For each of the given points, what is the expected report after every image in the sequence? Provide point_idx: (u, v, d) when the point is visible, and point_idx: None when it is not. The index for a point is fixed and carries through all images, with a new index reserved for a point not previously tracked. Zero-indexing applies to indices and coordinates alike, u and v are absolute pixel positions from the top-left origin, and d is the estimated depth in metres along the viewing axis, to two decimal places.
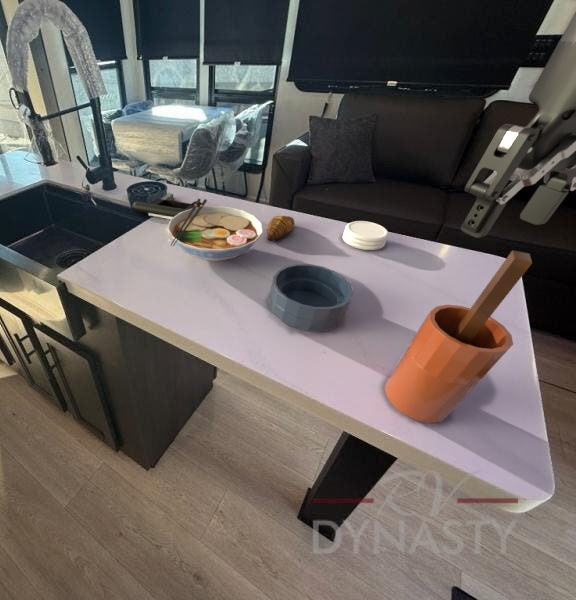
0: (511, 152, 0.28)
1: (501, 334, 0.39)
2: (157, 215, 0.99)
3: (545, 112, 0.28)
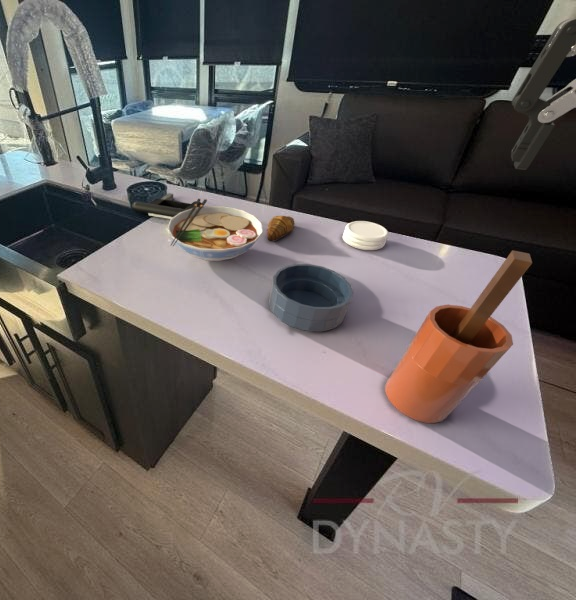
0: (547, 49, 0.25)
1: (501, 334, 0.39)
2: (157, 215, 0.99)
3: None
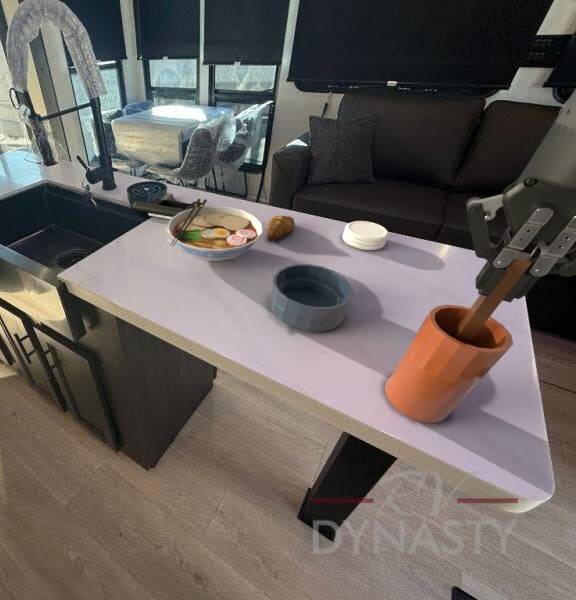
0: (469, 222, 0.34)
1: (501, 334, 0.39)
2: (157, 215, 0.99)
3: (520, 177, 0.31)
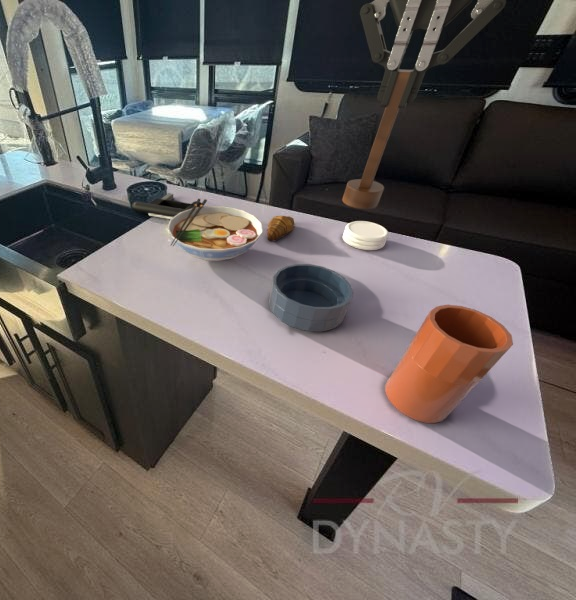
0: (364, 26, 0.37)
1: (501, 334, 0.39)
2: (157, 215, 0.99)
3: None
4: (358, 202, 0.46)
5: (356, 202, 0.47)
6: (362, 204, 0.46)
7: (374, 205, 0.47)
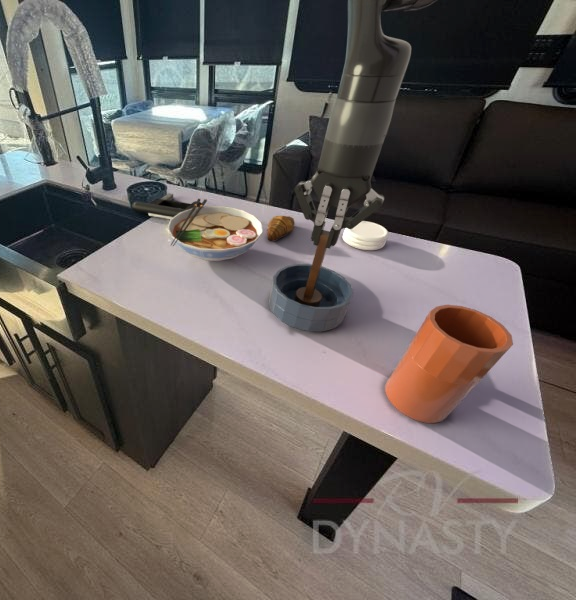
0: None
1: (501, 334, 0.39)
2: (157, 215, 0.99)
3: None
4: None
5: None
6: None
7: None
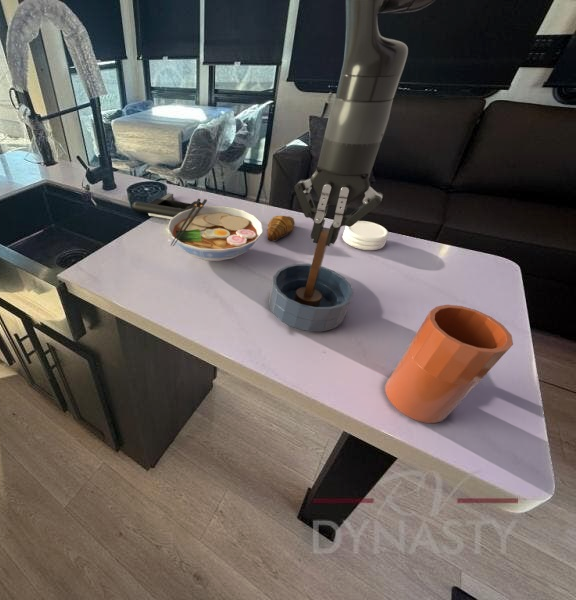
0: None
1: (501, 334, 0.39)
2: (157, 215, 0.99)
3: None
4: None
5: None
6: None
7: None
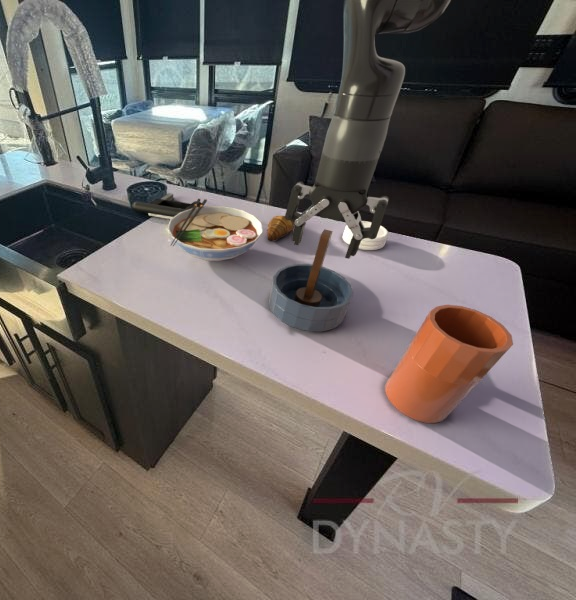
0: None
1: (501, 334, 0.39)
2: (157, 215, 0.99)
3: None
4: None
5: None
6: None
7: None
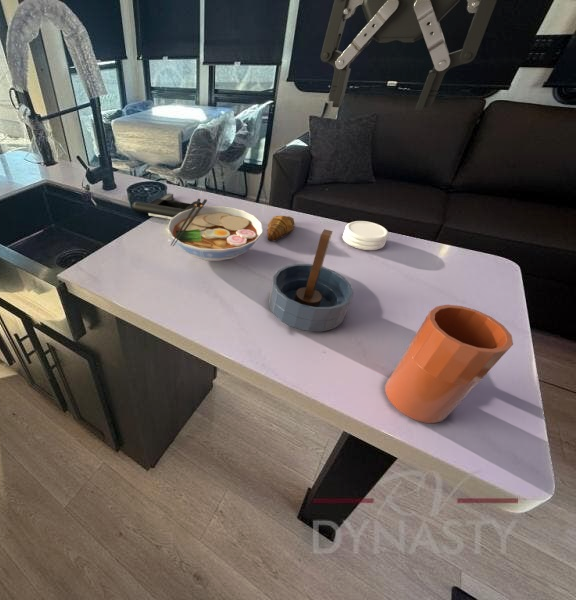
0: None
1: (501, 334, 0.39)
2: (157, 215, 0.99)
3: None
4: None
5: None
6: None
7: None
